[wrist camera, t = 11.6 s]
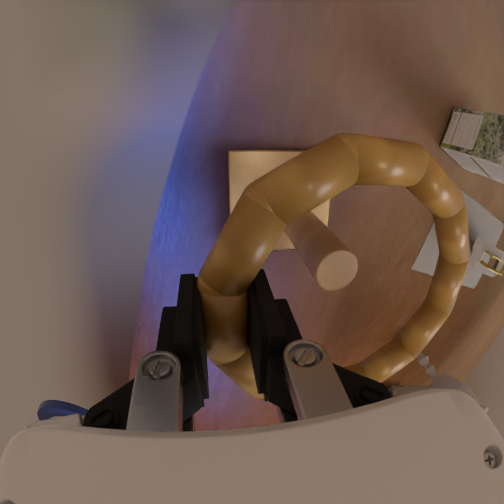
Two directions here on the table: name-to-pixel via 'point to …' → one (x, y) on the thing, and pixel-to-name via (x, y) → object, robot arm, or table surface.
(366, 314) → the table surface
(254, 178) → the post
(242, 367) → the ring
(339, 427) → the robot arm
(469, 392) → the chalice
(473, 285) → the platform
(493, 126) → the syrup box
